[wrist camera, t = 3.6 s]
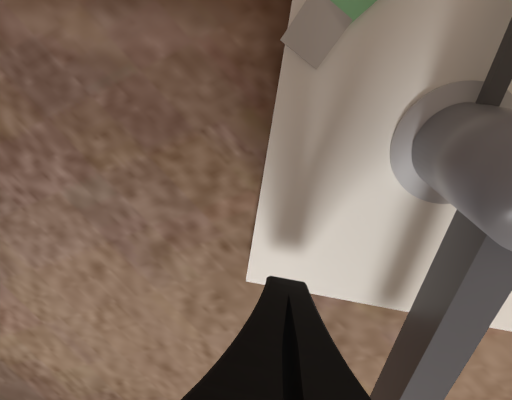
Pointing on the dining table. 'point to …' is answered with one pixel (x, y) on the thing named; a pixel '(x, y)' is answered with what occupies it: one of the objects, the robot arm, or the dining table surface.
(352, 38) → the board
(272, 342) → the robot arm
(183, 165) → the dining table surface
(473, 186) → the grey dial pointer
